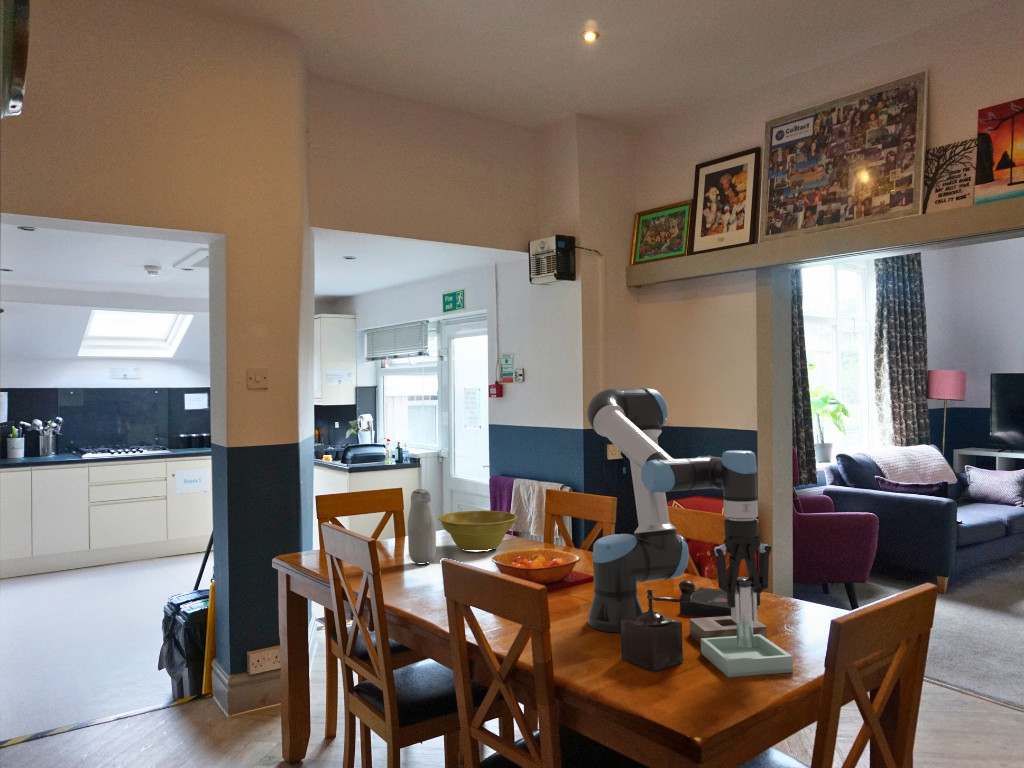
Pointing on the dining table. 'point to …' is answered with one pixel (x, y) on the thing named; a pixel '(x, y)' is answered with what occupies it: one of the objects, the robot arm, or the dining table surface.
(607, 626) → the robot arm
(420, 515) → the grey bottle
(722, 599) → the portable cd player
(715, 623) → the block
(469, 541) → the planter bowl
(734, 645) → the tray
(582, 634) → the dining table surface
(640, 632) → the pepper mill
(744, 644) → the clear capped cylinder
